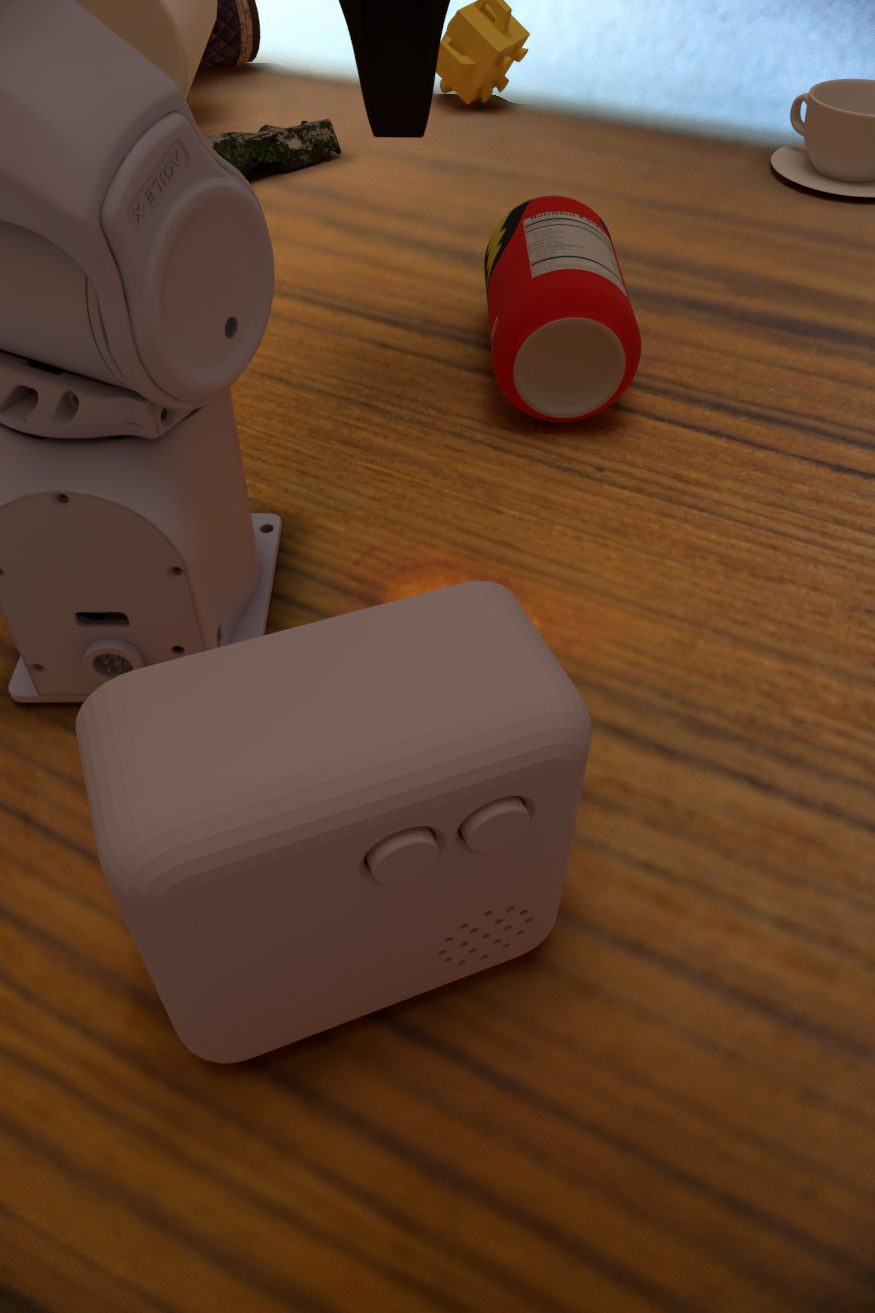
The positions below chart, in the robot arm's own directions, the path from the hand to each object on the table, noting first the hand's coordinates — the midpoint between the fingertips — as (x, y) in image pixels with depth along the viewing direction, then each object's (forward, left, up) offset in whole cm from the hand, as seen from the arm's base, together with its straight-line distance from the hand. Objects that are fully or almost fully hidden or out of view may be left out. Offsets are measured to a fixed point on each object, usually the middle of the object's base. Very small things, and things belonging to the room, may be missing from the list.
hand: (398, 131), depth 39 cm
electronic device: (-30, 0, -11) cm, 32 cm away
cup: (+45, +15, +1) cm, 47 cm away
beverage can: (-6, -7, -7) cm, 12 cm away
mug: (+43, +24, -7) cm, 50 cm away
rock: (+20, +13, -9) cm, 26 cm away
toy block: (+38, -7, -9) cm, 40 cm away
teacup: (+25, -29, -11) cm, 39 cm away
